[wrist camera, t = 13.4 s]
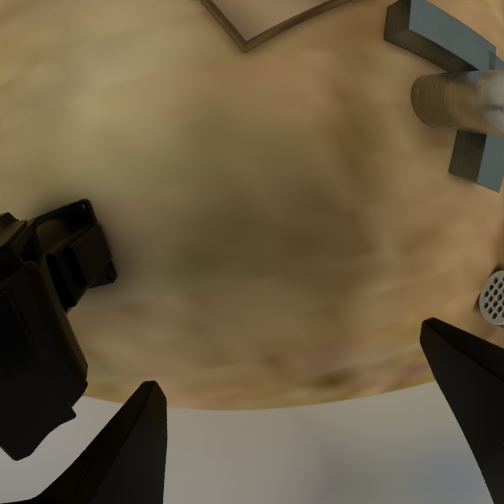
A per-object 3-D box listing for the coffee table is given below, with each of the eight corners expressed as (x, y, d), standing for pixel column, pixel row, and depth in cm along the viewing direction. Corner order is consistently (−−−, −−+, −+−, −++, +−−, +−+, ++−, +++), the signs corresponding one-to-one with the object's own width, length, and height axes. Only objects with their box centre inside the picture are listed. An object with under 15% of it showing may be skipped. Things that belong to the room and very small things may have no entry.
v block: (456, 194, 21) (483, 206, 18) (367, 14, 15) (389, 0, 12) (511, 148, 19) (538, 155, 16) (440, -11, 14) (465, -21, 11)
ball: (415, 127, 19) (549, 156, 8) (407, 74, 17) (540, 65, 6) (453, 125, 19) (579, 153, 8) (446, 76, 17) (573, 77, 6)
